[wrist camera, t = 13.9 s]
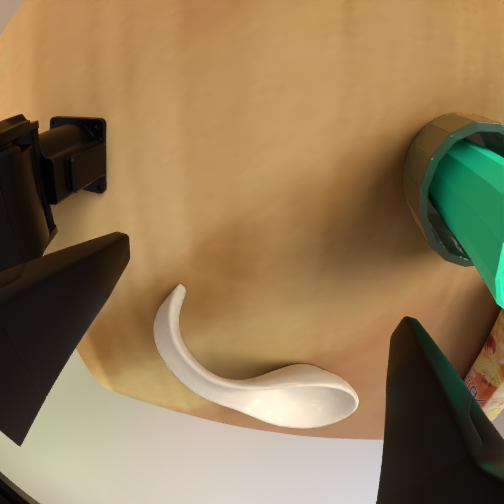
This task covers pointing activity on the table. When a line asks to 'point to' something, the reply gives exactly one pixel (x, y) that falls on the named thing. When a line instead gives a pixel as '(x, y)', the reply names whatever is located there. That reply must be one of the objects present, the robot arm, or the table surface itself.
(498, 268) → the candle
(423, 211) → the bowl
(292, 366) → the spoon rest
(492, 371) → the snack package
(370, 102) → the table surface
